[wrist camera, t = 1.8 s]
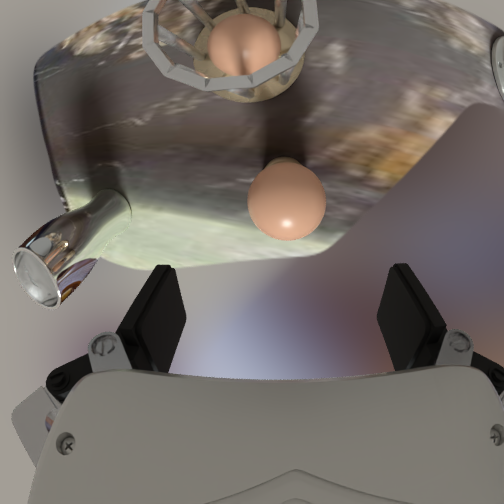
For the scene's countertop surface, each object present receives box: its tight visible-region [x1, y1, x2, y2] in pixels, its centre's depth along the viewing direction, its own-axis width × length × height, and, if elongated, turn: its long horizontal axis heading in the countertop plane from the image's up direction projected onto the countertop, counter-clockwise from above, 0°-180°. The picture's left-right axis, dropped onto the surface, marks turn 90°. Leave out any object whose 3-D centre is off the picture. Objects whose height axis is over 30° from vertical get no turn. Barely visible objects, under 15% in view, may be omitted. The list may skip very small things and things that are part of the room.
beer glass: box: [12, 189, 131, 310], centre depth 24 cm, size 7×7×15 cm
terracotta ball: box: [248, 162, 326, 241], centre depth 20 cm, size 6×6×6 cm
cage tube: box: [142, 0, 319, 103], centre depth 15 cm, size 10×10×13 cm
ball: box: [207, 14, 281, 76], centre depth 17 cm, size 6×6×6 cm
